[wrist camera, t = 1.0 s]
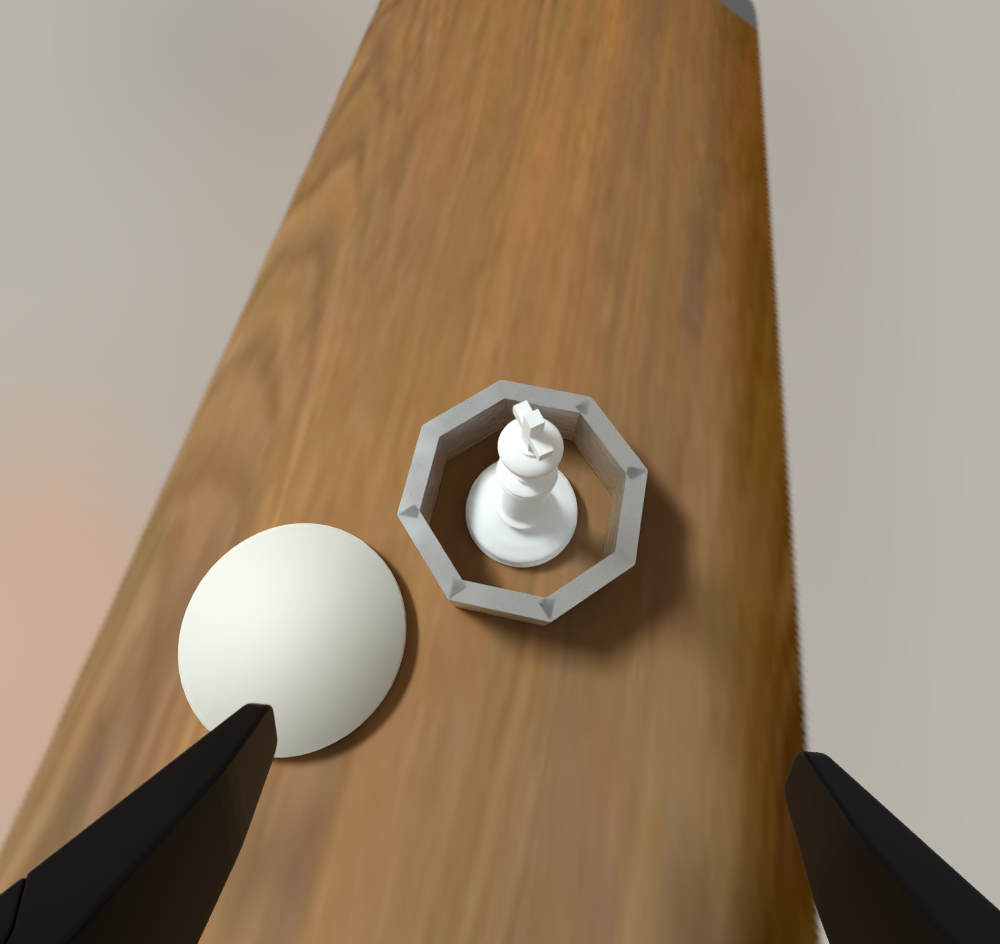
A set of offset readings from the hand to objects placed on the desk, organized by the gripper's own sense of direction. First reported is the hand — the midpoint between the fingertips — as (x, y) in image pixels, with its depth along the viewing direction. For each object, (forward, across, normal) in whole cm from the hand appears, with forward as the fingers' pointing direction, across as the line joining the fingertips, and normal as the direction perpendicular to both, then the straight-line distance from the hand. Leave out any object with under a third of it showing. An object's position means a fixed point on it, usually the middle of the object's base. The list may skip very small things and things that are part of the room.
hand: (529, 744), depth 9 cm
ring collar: (+15, 0, +3) cm, 15 cm away
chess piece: (+15, 0, +3) cm, 15 cm away
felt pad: (+11, +9, +8) cm, 16 cm away
